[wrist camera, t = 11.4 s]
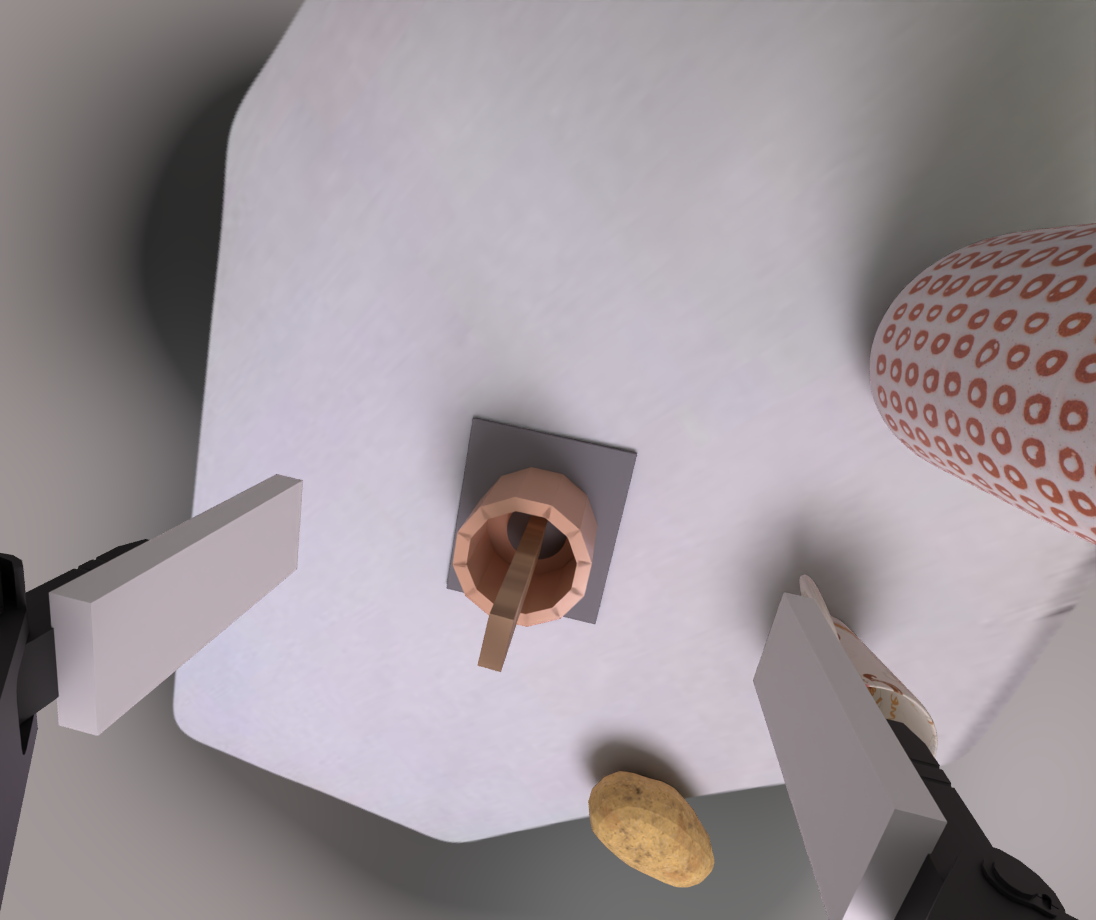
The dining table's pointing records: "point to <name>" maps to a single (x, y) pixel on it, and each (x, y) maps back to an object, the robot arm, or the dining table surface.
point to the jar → (491, 553)
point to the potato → (651, 828)
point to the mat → (579, 461)
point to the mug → (878, 676)
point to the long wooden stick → (517, 582)
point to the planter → (1001, 370)
